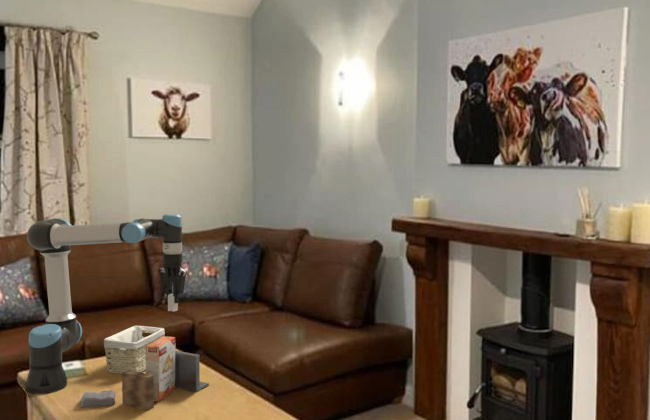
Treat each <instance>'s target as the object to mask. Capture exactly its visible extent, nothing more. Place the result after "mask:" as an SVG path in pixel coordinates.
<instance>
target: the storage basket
mask: <svg viewBox="0 0 650 420" xmlns="http://www.w3.org/2000/svg"><path fill="white" fill-rule="evenodd" d="M143 333H145V334H146V333H147V334H150V335H147V336H143ZM165 334H166V333H165V328H164V327H155V326H146V325H145V326H144V325H133V326H131V327H128V328H127V329H124V330H121V331H120V332H117V333H115V334H113V335H111V336H108V337H105V338H104V339H103V347H104V352H105V358H106V359H105V360H106V364H107V367H106V368H107V372H108V373H114V374H119V375H122V372H124V371H127V370H131V371H136V372H141V373H144V371H146V346H147V345H149V344H150V343H152V342H154V341H155V340H157V339H159V338H161V337H162V336H165ZM165 337H166V336H165Z"/></svg>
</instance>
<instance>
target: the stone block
mask: <svg viewBox="0 0 650 420" xmlns="http://www.w3.org/2000/svg"><path fill="white" fill-rule="evenodd" d="M80 404H81V405H80V406H81V408H85V409H87V408H96V407H99V408H100V407H109V406H114V405H115V404H116V391H115V390H103V391H100V392H95V391H85V392H83V395H82V396H81V398H80Z"/></svg>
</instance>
